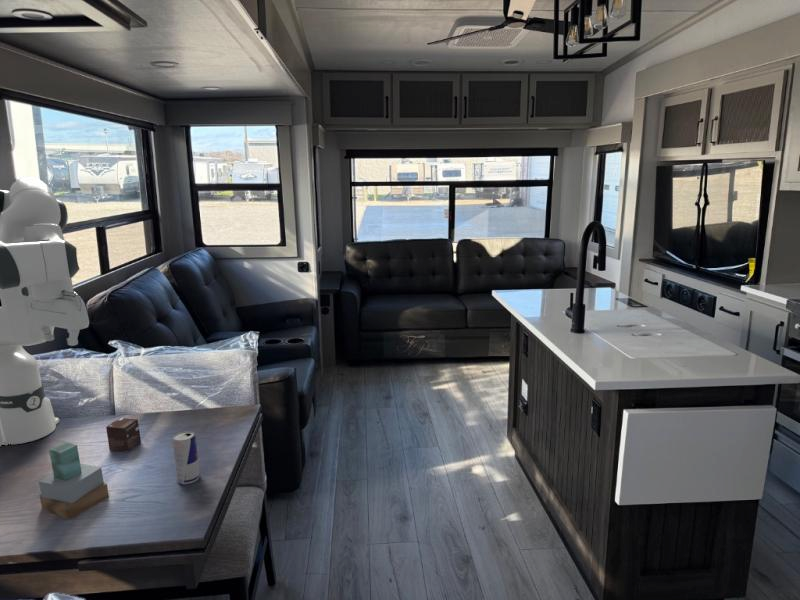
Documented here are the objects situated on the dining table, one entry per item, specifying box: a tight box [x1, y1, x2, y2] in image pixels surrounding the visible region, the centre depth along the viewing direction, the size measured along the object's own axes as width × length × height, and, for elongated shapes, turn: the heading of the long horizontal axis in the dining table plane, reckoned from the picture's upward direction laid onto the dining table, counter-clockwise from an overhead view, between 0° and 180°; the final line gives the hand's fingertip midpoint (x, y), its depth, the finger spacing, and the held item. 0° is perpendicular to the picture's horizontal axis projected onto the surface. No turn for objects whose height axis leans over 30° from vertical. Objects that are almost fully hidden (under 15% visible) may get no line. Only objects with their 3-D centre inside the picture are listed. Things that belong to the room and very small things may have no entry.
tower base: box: [39, 482, 110, 521], centre depth 133 cm, size 10×10×4 cm
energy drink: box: [172, 430, 201, 485], centre depth 141 cm, size 5×5×12 cm
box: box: [105, 417, 142, 453], centre depth 159 cm, size 6×6×7 cm
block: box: [48, 441, 82, 481], centre depth 130 cm, size 4×4×7 cm
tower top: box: [38, 463, 105, 503], centre depth 132 cm, size 9×9×4 cm
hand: (61, 342), depth 143 cm, fingers open, 8 cm apart
